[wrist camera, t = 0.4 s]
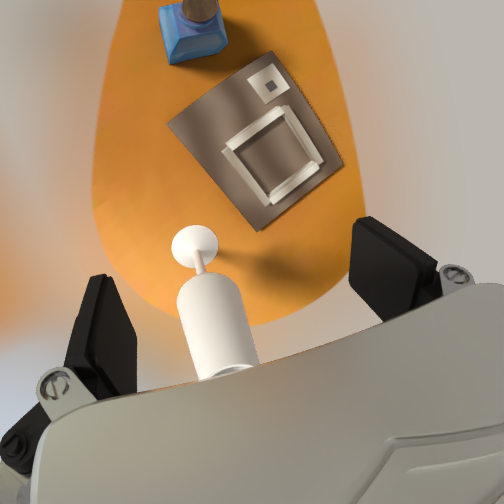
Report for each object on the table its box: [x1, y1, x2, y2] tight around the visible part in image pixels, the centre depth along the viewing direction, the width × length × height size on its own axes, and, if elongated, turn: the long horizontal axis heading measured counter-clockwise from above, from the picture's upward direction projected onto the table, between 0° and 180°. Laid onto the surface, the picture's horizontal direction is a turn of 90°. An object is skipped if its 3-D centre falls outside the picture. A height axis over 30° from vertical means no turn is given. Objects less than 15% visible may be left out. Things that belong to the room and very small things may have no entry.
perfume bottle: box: [159, 0, 228, 65], centre depth 23 cm, size 6×6×12 cm
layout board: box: [166, 51, 343, 232], centre depth 36 cm, size 16×19×3 cm
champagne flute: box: [172, 225, 260, 380], centre depth 31 cm, size 7×7×24 cm
